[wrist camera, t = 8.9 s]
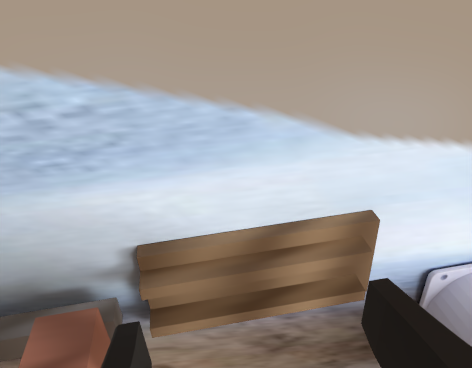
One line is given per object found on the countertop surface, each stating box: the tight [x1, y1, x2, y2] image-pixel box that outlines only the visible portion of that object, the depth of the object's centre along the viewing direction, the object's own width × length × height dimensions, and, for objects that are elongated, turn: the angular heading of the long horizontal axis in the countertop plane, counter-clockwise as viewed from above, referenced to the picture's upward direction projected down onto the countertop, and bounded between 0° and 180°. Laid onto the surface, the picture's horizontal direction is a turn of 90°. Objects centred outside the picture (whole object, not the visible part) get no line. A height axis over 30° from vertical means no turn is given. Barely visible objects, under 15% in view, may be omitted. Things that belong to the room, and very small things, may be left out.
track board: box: [137, 210, 380, 338], centre depth 23 cm, size 14×6×2 cm, turn 93°
